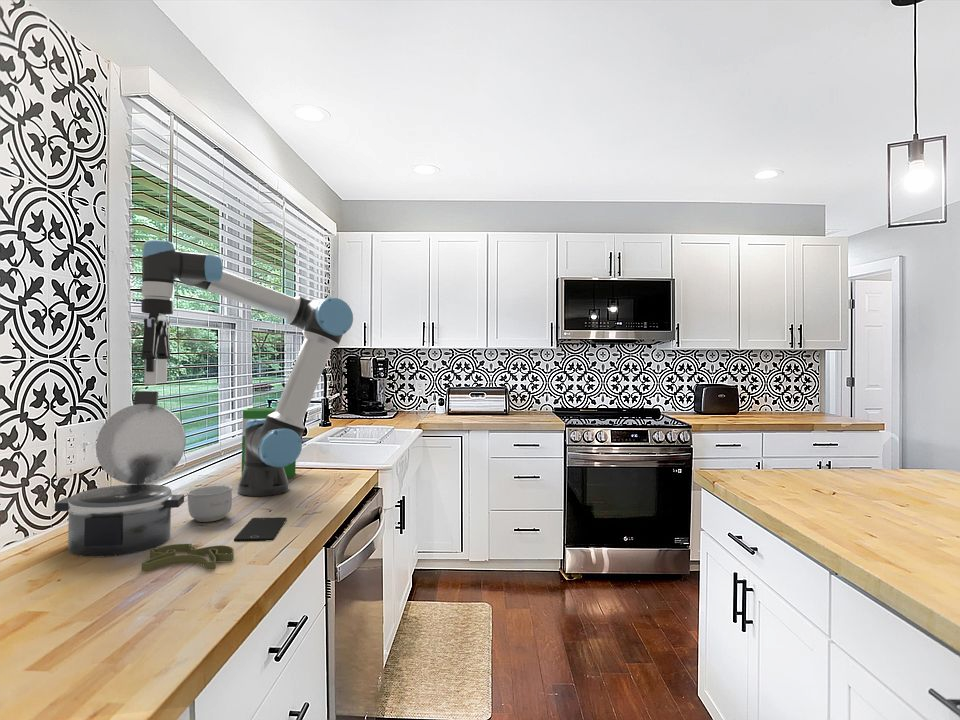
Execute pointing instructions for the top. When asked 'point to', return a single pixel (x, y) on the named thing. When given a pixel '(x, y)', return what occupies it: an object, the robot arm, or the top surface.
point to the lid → (141, 441)
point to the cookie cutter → (187, 556)
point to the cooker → (119, 519)
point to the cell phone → (260, 529)
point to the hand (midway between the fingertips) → (156, 383)
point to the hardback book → (261, 414)
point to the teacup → (210, 502)
